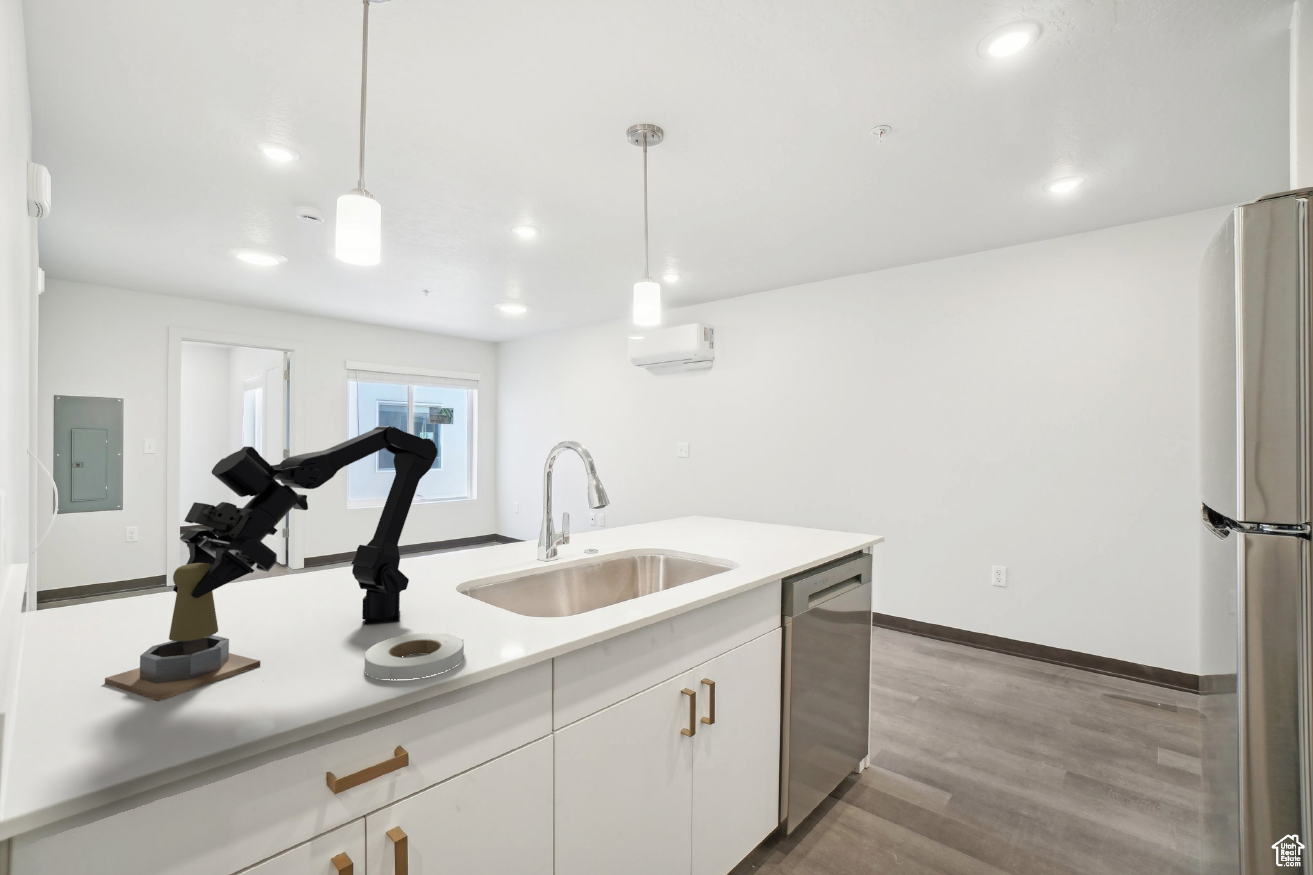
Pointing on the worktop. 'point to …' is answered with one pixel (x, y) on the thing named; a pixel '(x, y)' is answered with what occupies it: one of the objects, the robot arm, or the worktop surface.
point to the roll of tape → (391, 665)
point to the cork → (192, 606)
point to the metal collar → (183, 659)
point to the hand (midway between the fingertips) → (184, 594)
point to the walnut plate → (169, 689)
